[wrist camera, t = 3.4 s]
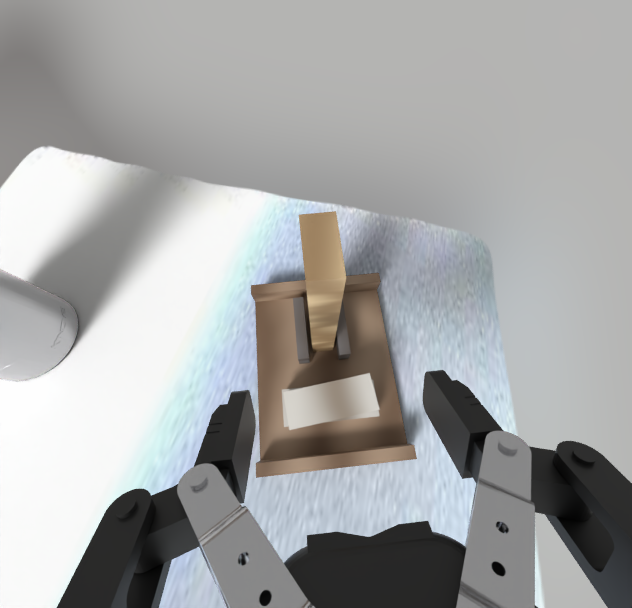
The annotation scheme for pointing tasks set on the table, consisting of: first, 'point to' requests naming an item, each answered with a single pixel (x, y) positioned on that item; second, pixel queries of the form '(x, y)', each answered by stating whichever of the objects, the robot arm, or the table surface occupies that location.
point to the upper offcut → (330, 401)
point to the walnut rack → (324, 380)
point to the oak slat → (323, 276)
